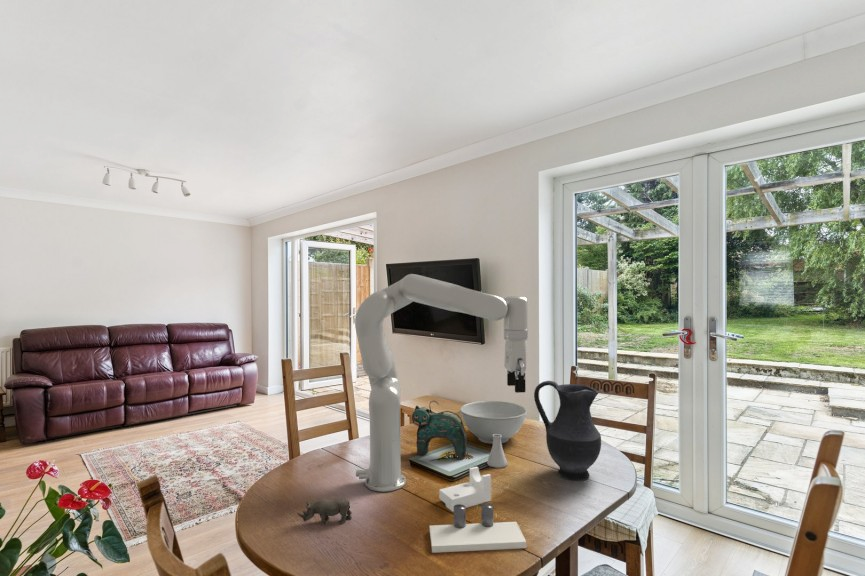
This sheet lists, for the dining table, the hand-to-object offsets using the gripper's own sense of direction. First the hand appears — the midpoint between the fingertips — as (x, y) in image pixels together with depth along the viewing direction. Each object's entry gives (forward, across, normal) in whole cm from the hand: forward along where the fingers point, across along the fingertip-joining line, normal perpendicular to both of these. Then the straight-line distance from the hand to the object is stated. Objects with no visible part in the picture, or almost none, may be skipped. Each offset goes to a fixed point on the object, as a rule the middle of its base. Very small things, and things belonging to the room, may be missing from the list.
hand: (516, 388), depth 142 cm
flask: (+29, -12, -4) cm, 32 cm away
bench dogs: (+29, +29, -19) cm, 45 cm away
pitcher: (+29, -2, +17) cm, 34 cm away
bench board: (+29, +33, -19) cm, 48 cm away
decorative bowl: (+29, -38, 0) cm, 48 cm away
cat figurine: (+29, -22, -22) cm, 43 cm away
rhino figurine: (+29, +22, -57) cm, 67 cm away
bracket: (+29, +13, -18) cm, 37 cm away
